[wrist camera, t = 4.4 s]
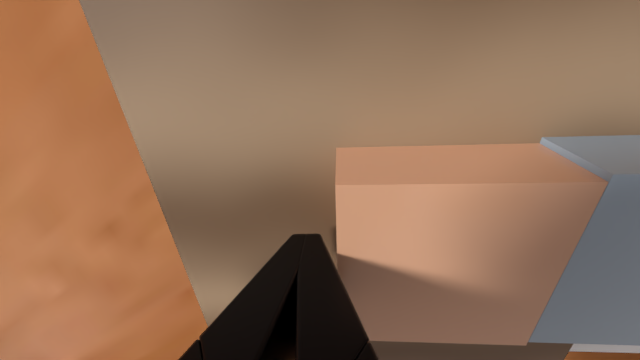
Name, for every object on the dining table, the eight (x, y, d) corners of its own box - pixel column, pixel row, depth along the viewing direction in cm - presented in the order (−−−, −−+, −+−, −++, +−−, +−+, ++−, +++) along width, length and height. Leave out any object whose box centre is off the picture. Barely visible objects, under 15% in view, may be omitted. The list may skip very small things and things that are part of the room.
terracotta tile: (490, 285, 9) (525, 345, 7) (339, 283, 10) (339, 339, 8) (539, 143, 7) (609, 182, 5) (336, 147, 7) (335, 185, 5)
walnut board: (507, 303, 14) (552, 377, 11) (246, 300, 16) (223, 366, 13) (670, -123, 7) (932, -244, 4) (145, -68, 8) (28, -129, 5)
